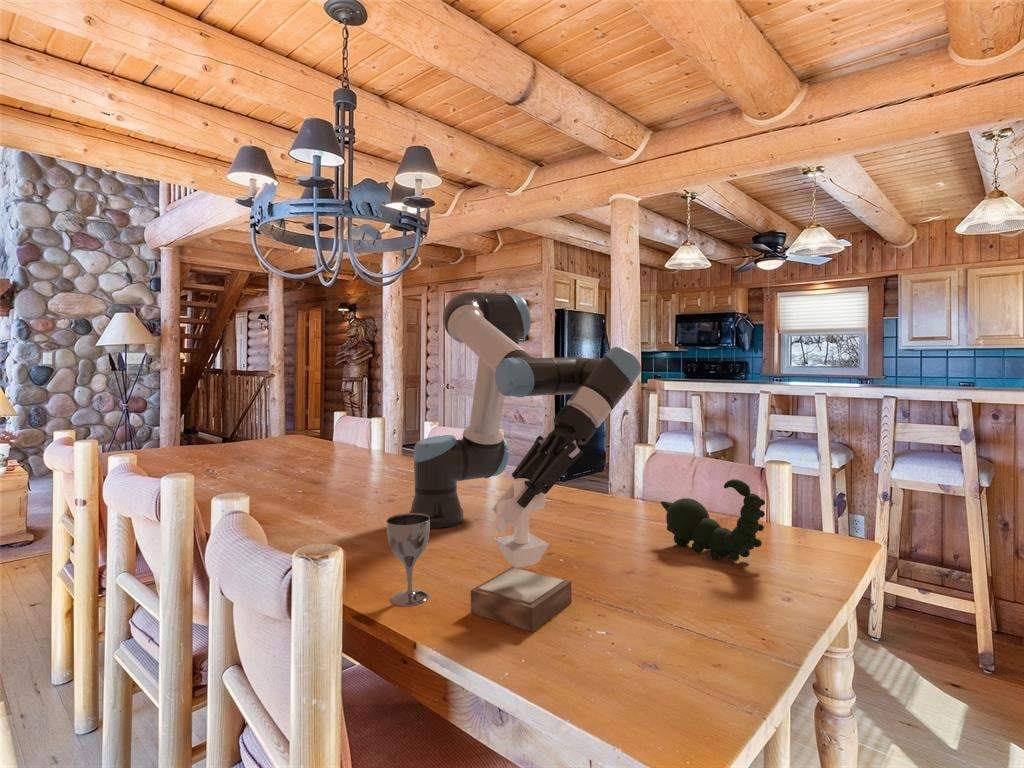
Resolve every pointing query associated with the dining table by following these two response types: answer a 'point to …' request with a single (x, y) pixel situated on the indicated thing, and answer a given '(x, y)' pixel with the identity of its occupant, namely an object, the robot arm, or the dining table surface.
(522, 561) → the figurine
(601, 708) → the dining table surface
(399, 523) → the wine glass
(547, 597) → the walnut pedestal
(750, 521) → the toy figurine
